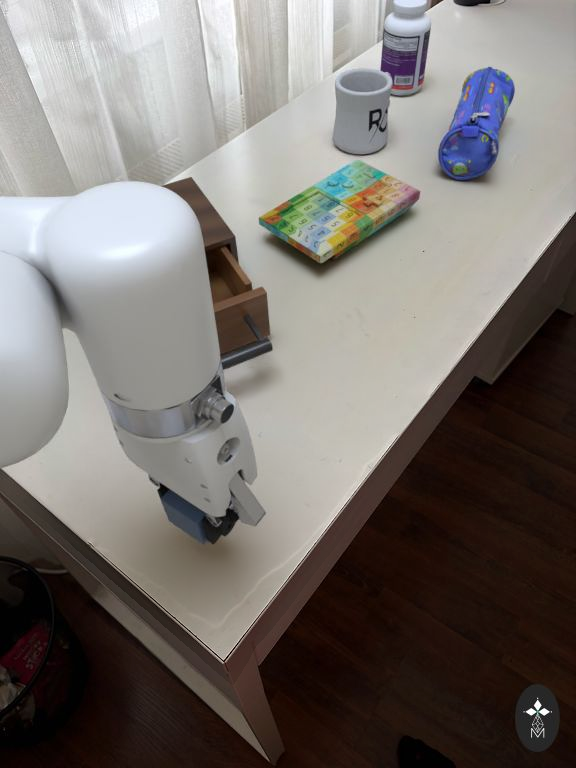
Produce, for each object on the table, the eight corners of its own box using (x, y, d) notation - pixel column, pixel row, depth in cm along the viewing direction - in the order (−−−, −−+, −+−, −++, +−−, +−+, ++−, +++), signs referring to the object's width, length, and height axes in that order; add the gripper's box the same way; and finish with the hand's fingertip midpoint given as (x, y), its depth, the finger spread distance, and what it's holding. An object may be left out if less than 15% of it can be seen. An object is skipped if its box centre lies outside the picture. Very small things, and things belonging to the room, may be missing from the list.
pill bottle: (403, 73, 113) (412, -12, 102) (431, 89, 109) (445, 1, 98) (369, 85, 111) (376, -1, 100) (397, 102, 107) (407, 13, 95)
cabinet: (242, 290, 77) (235, 236, 70) (150, 323, 74) (134, 270, 67) (201, 229, 85) (191, 176, 78) (116, 257, 82) (99, 204, 75)
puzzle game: (421, 185, 82) (319, 250, 74) (416, 213, 86) (319, 279, 78) (359, 154, 88) (258, 212, 79) (357, 182, 91) (260, 240, 83)
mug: (365, 162, 95) (370, 100, 87) (321, 144, 98) (322, 83, 91) (408, 131, 100) (416, 70, 92) (365, 115, 104) (369, 55, 96)
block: (203, 546, 49) (197, 524, 46) (168, 520, 51) (160, 498, 48) (233, 510, 51) (229, 487, 48) (198, 487, 53) (192, 463, 50)
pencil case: (488, 190, 89) (504, 129, 81) (431, 180, 91) (441, 120, 83) (507, 119, 101) (523, 61, 94) (457, 112, 103) (468, 54, 96)
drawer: (292, 366, 67) (290, 324, 62) (199, 405, 64) (189, 364, 59) (226, 269, 78) (219, 227, 73) (144, 298, 75) (131, 256, 70)
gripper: (308, 401, 36) (305, 533, 50) (112, 295, 42) (159, 439, 56) (230, 492, 32) (251, 607, 46) (27, 361, 38) (101, 497, 52)
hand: (200, 513), depth 51 cm, fingers closed on block, 4 cm apart
